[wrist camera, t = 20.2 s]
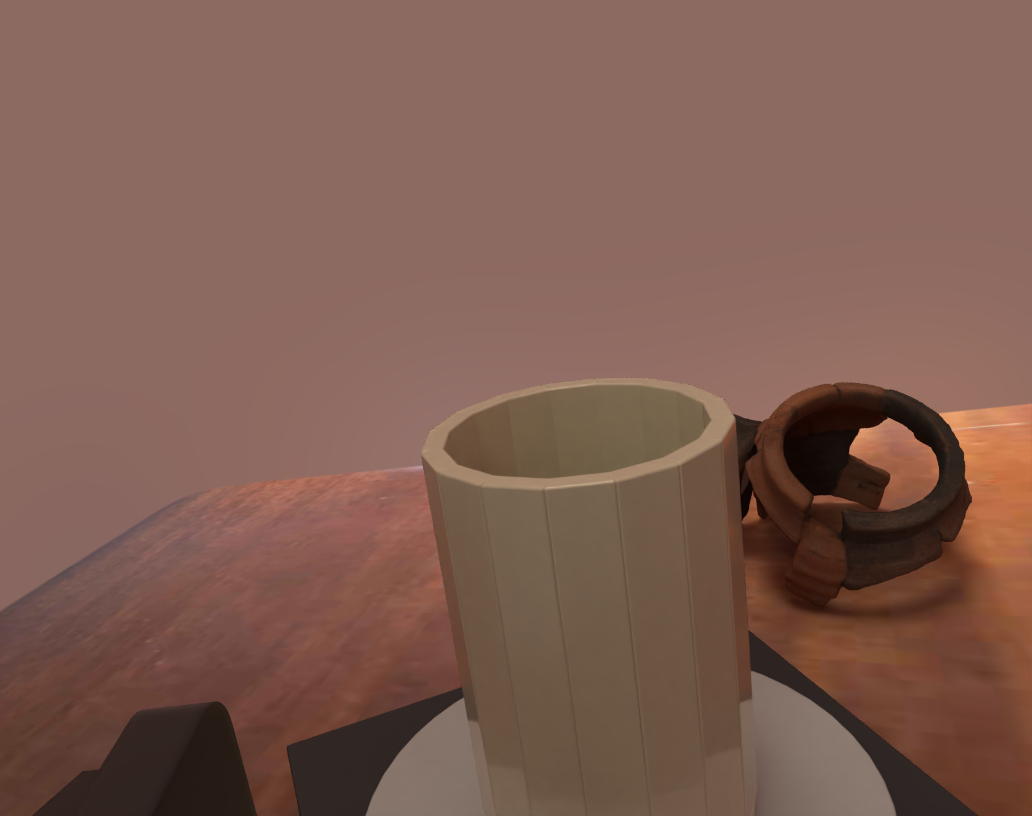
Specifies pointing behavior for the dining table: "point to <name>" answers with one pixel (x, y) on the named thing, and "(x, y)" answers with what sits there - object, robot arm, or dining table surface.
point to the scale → (778, 742)
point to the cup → (598, 598)
